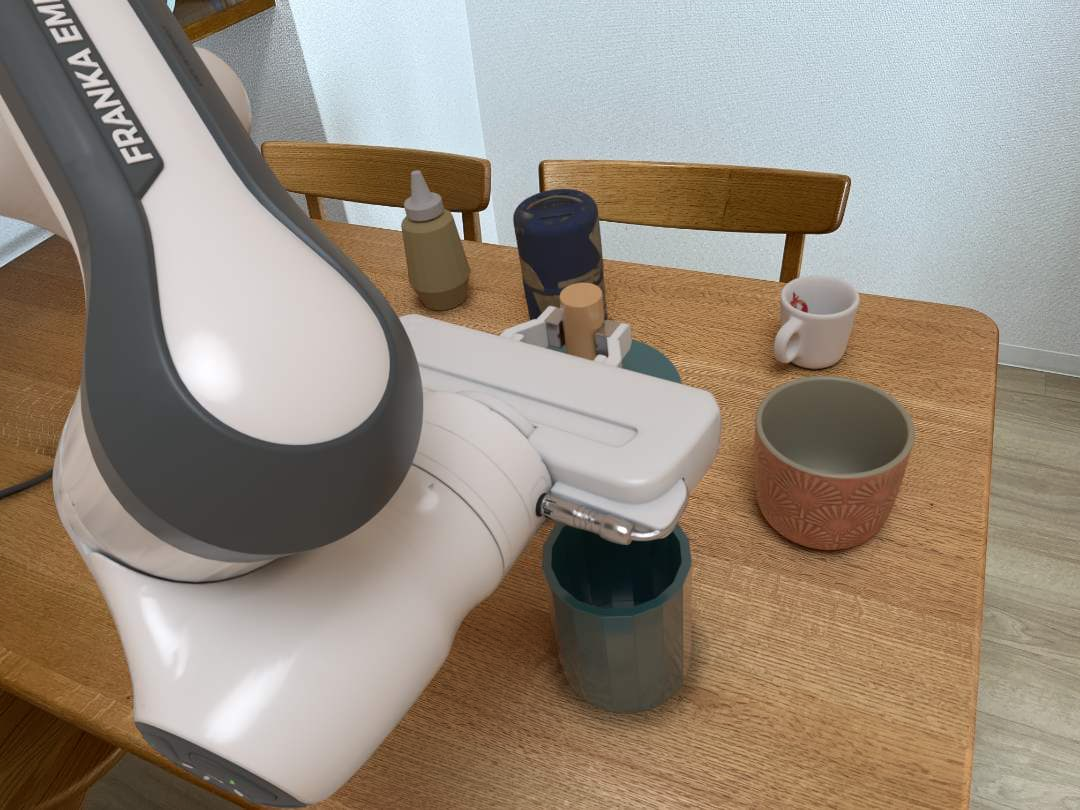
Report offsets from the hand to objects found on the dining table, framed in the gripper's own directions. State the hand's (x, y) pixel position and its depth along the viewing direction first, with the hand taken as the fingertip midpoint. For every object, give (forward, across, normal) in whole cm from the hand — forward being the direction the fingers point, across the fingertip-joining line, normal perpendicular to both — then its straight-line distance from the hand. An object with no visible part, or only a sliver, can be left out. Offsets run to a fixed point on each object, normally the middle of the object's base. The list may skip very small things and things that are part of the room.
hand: (591, 324), depth 47 cm
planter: (+18, -12, +30) cm, 37 cm away
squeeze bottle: (+35, +42, +31) cm, 63 cm away
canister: (+34, +23, +31) cm, 52 cm away
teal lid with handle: (-1, 0, +5) cm, 5 cm away
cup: (+39, -4, +31) cm, 50 cm away
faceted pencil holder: (-3, -2, +30) cm, 30 cm away
